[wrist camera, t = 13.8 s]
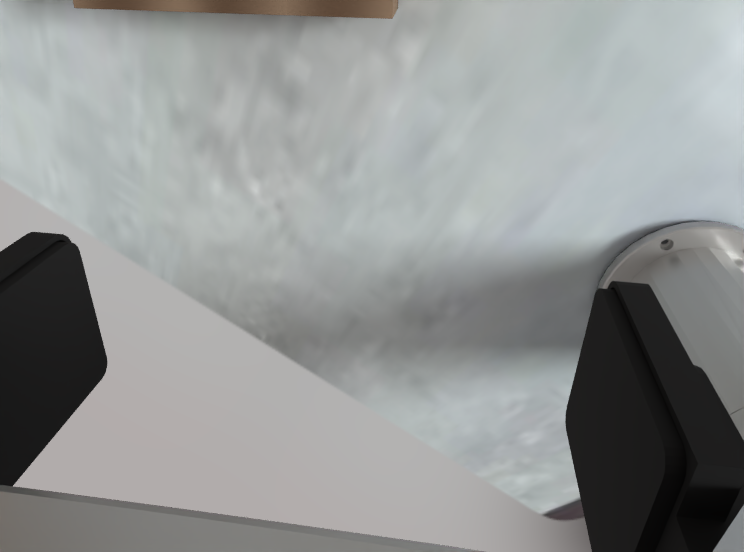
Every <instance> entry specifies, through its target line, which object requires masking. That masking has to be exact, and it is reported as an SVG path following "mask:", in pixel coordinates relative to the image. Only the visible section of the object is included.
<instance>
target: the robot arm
mask: <svg viewBox="0 0 744 552" xmlns="http://www.w3.org/2000/svg"><path fill="white" fill-rule="evenodd" d="M665 239H666V240H665ZM106 368H107V356H106V353H105V349H104V345H103V341H102V337H101V333H100V329H99V325H98V321H97V317H96V313H95V309H94V306H93V302H92V298H91V294H90V290H89V286H88V282H87V278H86V275H85V270H84V266H83V262H82V258H81V255H80V251H79V249H78V247H77V246H76V245H75V244H74V243H71V241H70V239H69V238H68V237H67V236H65V235H63V234H52V233H40V232H31V233H28V234H26V235H25V236H23V237H22V238H20V239H19V240H17V241H16V242H14V243H13V244H11V245H10V246H8V247H7V248H5V249H4V250H2V251H1V252H0V552H484V551H477V550H471V549H464V548H458V547H452V546H445V545H438V544H431V543H423V542H417V541H410V540H403V539H395V538H388V537H381V536H374V535H367V534H360V533H352V532H346V531H339V530H331V529H324V528H317V527H310V526H302V525H296V524H288V523H282V522H274V521H267V520H260V519H252V518H245V517H238V516H230V515H223V514H216V513H208V512H201V511H194V510H186V509H179V508H172V507H164V506H157V505H149V504H141V503H134V502H127V501H119V500H111V499H104V498H97V497H89V496H81V495H74V494H67V493H59V492H52V491H43V490H36V489H28V488H20V487H13V485H14V484H15V482H16V481H17V480H18V479H19V478H20V476H21V475H22V474H23V473H24V472H25V471H26V469H27V468H28V467H29V466H30V465H31V463H32V462H33V461H34V460H35V458H36V457H37V456H38V455H39V454H40V452H41V451H42V450H43V449H44V448H45V446H46V445H47V444H48V443H49V442H50V441H51V439H52V438H53V437H54V436H55V434H56V433H57V432H58V431H59V430H60V428H61V427H62V426H63V425H64V424H65V422H66V421H67V420H68V419H69V418H70V416H71V415H72V414H73V413H74V412H75V410H76V409H77V408H78V407H79V406H80V404H81V403H82V402H83V401H84V399H85V398H86V397H87V396H88V395H89V393H90V392H91V391H92V390H93V389H94V388H95V386H96V385H97V384H98V383H99V382H100V380H101V379H102V378H103V376H104V374H105V372H106ZM566 431H567V436H568V440H569V445H570V450H571V454H572V459H573V464H574V469H575V473H576V478H577V483H578V488H579V492H580V497H581V502H582V506H583V511H584V516H585V521H586V525H587V529H588V535H589V540H590V544H591V549H592V552H744V230H743V229H741V228H739V227H737V226H733V225H729V224H724V223H720V222H706V221H698V222H689V223H681V224H677V225H673V226H669V227H666V228H663V229H660V230H658V231H656V232H653V233H651V234H649V235H646V236H645V237H643V238H641V239H640V240H638V241H637V242H635V243H633V244H632V245H630V246H629V247H628V248H627V249H626V250H624V251H623V252H622V253H621V254H620V255H619V256H617V258H616V259H615V260H614V261H613V262H612V264H611V265H610V266H609V267H608V268H607V270H606V272H605V274H604V275H603V277H602V279H601V281H600V283H599V286H598V289H597V291H596V294H595V297H594V301H593V305H592V309H591V313H590V317H589V321H588V325H587V329H586V333H585V337H584V341H583V345H582V349H581V353H580V357H579V361H578V365H577V369H576V373H575V377H574V381H573V385H572V389H571V393H570V397H569V401H568V405H567V410H566Z"/></svg>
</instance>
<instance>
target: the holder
mask: <svg viewBox="0 0 744 552" xmlns="http://www.w3.org/2000/svg"><path fill="white" fill-rule="evenodd" d="M73 3H74V7H75V8H87V9H117V10H147V11H177V12H208V13H238V14H268V15H298V16H328V17H358V18H388V19H392V18H393V16H394V14H395V13H396V11H397V9H398V0H73Z"/></svg>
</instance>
